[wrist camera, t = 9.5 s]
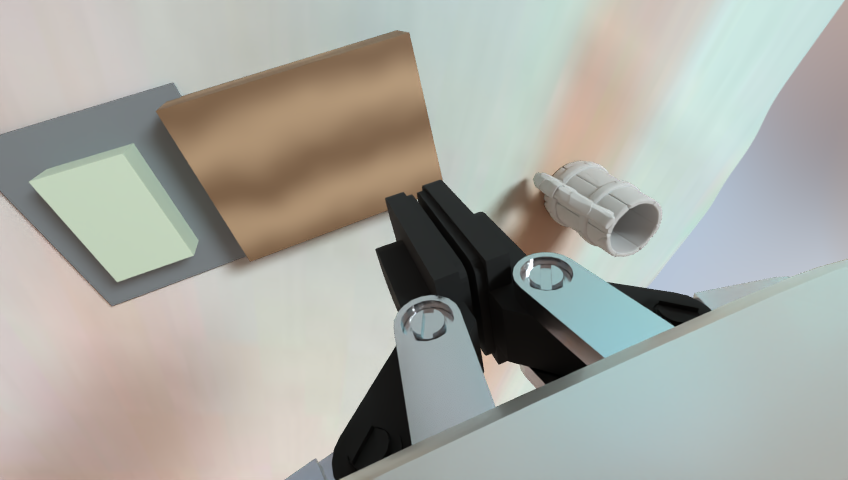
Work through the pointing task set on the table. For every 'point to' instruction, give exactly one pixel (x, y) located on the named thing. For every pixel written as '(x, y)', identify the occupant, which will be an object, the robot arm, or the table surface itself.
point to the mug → (600, 207)
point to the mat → (99, 132)
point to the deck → (309, 142)
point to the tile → (118, 211)
